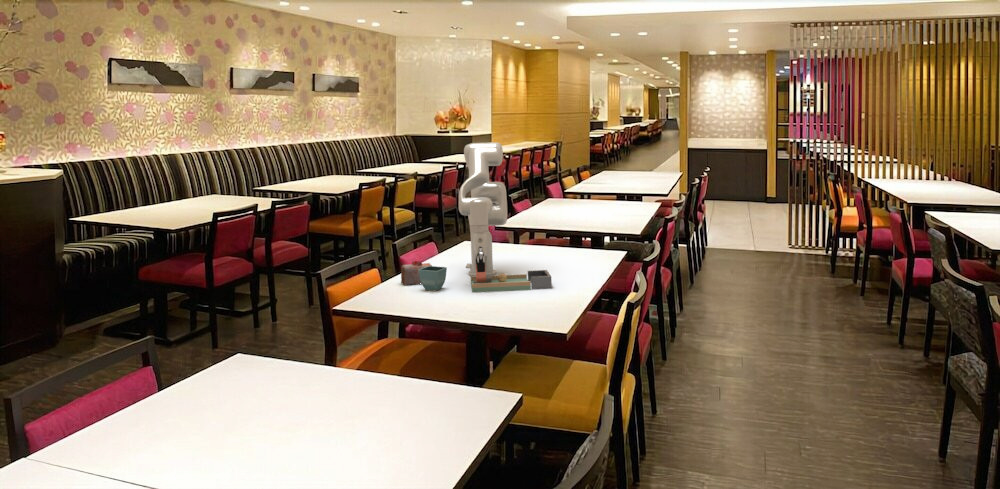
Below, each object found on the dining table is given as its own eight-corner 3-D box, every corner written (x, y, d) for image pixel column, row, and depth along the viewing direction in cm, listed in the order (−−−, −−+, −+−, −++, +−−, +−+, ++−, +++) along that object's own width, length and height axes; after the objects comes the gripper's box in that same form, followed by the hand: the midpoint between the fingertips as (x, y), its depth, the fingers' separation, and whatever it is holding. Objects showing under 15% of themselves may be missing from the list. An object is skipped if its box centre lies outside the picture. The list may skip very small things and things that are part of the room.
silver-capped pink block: (474, 284, 314) (473, 265, 312) (473, 282, 318) (473, 263, 317) (491, 284, 314) (491, 265, 313) (491, 281, 319) (490, 263, 317)
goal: (531, 289, 311) (531, 277, 311) (528, 282, 325) (527, 270, 324) (551, 288, 312) (551, 276, 311) (546, 281, 325) (546, 269, 324)
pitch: (472, 292, 309) (472, 284, 308) (470, 284, 324) (470, 276, 323) (530, 289, 311) (530, 281, 310) (526, 281, 325) (526, 274, 325)
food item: (429, 279, 335) (428, 257, 334) (435, 283, 328) (434, 260, 326) (400, 283, 330) (399, 261, 328) (405, 286, 323) (404, 264, 321)
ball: (495, 283, 316) (495, 273, 316) (501, 281, 320) (501, 271, 319) (503, 284, 314) (503, 274, 313) (509, 282, 317) (508, 272, 317)
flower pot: (448, 287, 318) (447, 266, 317) (437, 292, 310) (436, 271, 309) (429, 286, 322) (429, 265, 320) (419, 290, 314) (418, 269, 313)
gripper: (489, 231, 304) (490, 273, 306) (487, 226, 321) (488, 266, 323) (471, 231, 303) (472, 274, 306) (469, 227, 320) (470, 267, 323)
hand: (480, 270), depth 314 cm, fingers open, 9 cm apart
